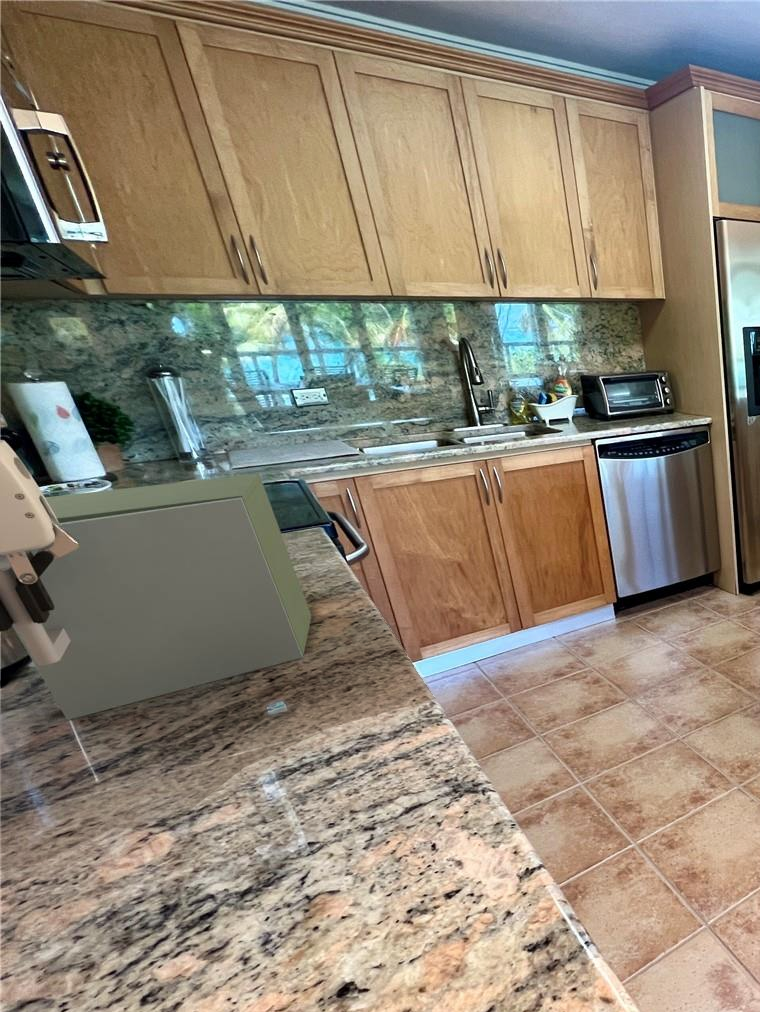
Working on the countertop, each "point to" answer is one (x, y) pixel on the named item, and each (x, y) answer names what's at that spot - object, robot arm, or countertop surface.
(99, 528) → the door
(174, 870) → the countertop surface
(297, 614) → the cupboard
